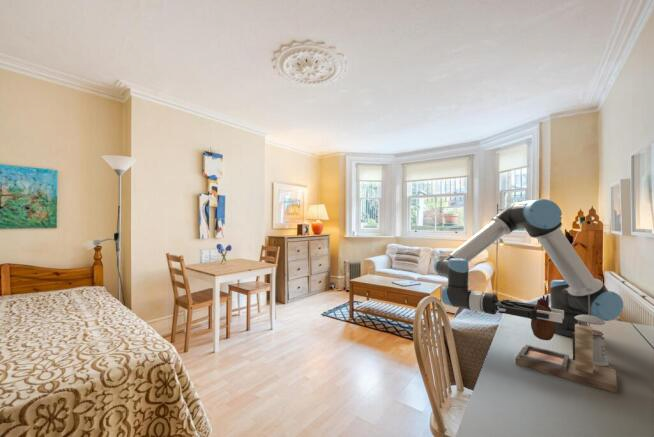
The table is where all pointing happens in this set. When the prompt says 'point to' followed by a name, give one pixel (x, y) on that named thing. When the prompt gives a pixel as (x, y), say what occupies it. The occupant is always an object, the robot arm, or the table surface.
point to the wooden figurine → (543, 321)
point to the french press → (595, 336)
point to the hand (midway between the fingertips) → (562, 316)
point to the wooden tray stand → (571, 361)
